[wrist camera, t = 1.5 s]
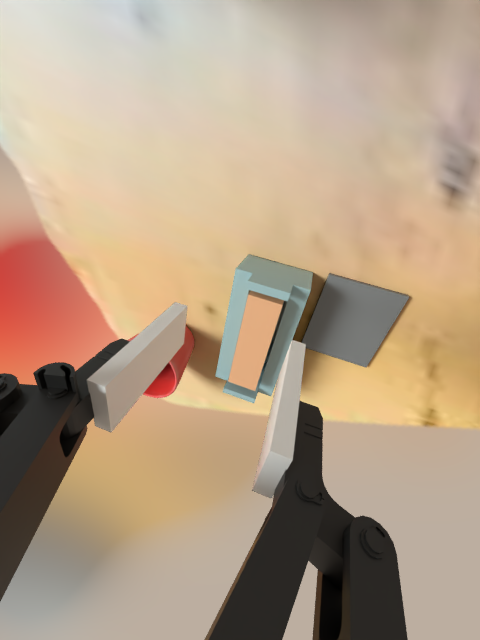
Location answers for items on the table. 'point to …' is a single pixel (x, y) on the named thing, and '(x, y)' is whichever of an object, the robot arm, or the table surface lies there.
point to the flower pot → (171, 370)
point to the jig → (294, 292)
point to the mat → (352, 319)
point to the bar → (254, 338)
